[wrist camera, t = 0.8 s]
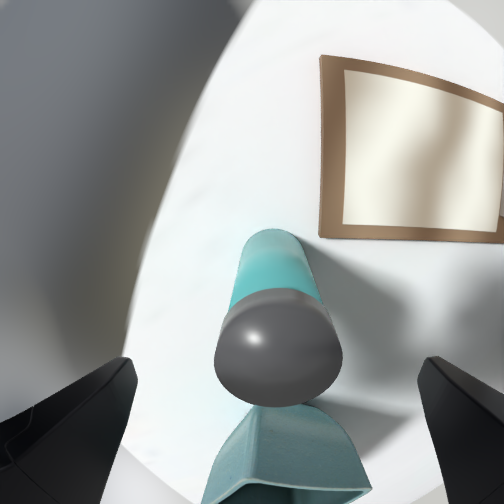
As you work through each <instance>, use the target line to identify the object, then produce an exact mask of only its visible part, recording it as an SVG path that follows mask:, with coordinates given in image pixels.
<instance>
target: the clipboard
mask: <svg viewBox="0 0 504 504" xmlns="http://www.w3.org/2000/svg"><path fill="white" fill-rule="evenodd" d="M319 61H320V85H321V184H320V210H319V230H318V235H319V237H320V238H360V239H400V240H433V241H461V242H486V243H504V104H503V103H501V102H499V101H497V100H495V99H492V98H490V97H488V96H485V95H483V94H481V93H478V92H476V91H473V90H471V89H468V88H466V87H463V86H460V85H457V84H454V83H452V82H449V81H446V80H443V79H440V78H436V77H433V76H430V75H426V74H423V73H419V72H415V71H412V70H408V69H404V68H400V67H395V66H391V65H386V64H381V63H376V62H371V61H365V60H359V59H352V58H345V57H338V56H329V55H321V56H320V58H319Z"/></svg>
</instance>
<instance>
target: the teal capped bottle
mask: <svg viewBox="0 0 504 504" xmlns="http://www.w3.org/2000/svg"><path fill="white" fill-rule="evenodd" d="M342 360H343V356H342V349H341V345H340V342H339V340H338V337H337V334H336V331H335V328H334V325H333V322H332V320H331V317H330V315H329V313H328V311H327V310H326V308H325V307H324V306H323V303H322V300H321V297H320V294H319V291H318V289H317V286H316V283H315V280H314V277H313V275H312V272H311V269H310V267H309V264H308V261H307V258H306V256H305V253H304V250H303V248H302V246H301V244H300V242H299V241H298V240H297V238H295V237H294V236H293V235H292V234H290V233H288V232H286V231H284V230H280V229H266V230H263V231H260V232H258V233H256V234H254V235H253V236H252V237H251V238H250V239H249V240H248V241H247V242H246V244H245V246H244V248H243V251H242V254H241V259H240V263H239V267H238V271H237V276H236V280H235V284H234V289H233V293H232V297H231V302H230V306H229V310H228V313H227V315H226V316H225V318H224V321H223V324H222V327H221V331H220V335H219V339H218V343H217V348H216V352H215V357H214V367H215V372H216V374H217V377H218V379H219V381H220V382H221V384H222V385H223V386H224V387H225V388H226V389H227V390H228V391H229V392H230V393H231V394H233V395H234V396H235V397H237V398H239V399H241V400H243V401H245V402H247V403H250V404H253V405H258V406H263V407H274V408H277V407H289V406H294V405H298V404H301V403H304V402H307V401H309V400H311V399H313V398H315V397H317V396H319V395H320V394H321V393H323V392H324V391H325V390H326V389H328V388H329V387H330V386H331V384H332V383H333V382H334V381H335V379H336V378H337V376H338V374H339V372H340V369H341V366H342Z"/></svg>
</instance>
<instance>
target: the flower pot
mask: <svg viewBox="0 0 504 504" xmlns="http://www.w3.org/2000/svg"><path fill="white" fill-rule="evenodd" d="M371 490H372V487H371V484H370V482H369V479H368V477H367V475H366V472H365V470H364V467H363V465H362V463H361V460H360V458H359V456H358V454H357V451H356V449H355V447H354V445H353V443H352V441H351V439H350V437H349V436H348V435H347V433H346V432H345V431H344V429H343V428H342V427H341V426H340V425H339V424H338V423H337V422H336V421H335V420H333V419H332V418H331V417H330V416H328V415H327V414H326V413H324V412H323V411H321V410H320V409H318V408H316V407H312V406H308V405H304V404H298V405H294V406H289V407H277V408H274V407H263V406H258V405H254V406H253V407H252V409H251V410H250V411H249V413H248V414H247V415H246V416H245V418H244V419H243V420H242V421H241V423H240V424H239V425H238V426H237V427H236V429H235V430H234V431H233V432H232V434H231V435H230V436H229V437H228V439H227V440H226V442H225V443H224V445H223V446H222V448H221V449H220V451H219V453H218V455H217V457H216V459H215V461H214V463H213V466H212V469H211V472H210V475H209V478H208V482H207V485H206V488H205V491H204V495H203V498H202V501H201V504H349V503H351V502H353V501H355V500H356V499H358V498H360V497H362V496H364V495H365V494H367V493H368V492H370V491H371Z"/></svg>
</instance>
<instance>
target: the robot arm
mask: <svg viewBox="0 0 504 504" xmlns="http://www.w3.org/2000/svg"><path fill="white" fill-rule="evenodd" d="M417 383H418V387H419V392H420V396H421V400H422V404H423V409H424V413H425V418H426V422H427V425H428V428H429V431H430V435H431V438H432V441H433V444H434V448H435V451H436V455H437V458H438V462H439V465H440V469H441V473H442V477H443V481H444V485H445V489H446V493H447V498H448V502H449V504H504V394H502V393H500V392H499V391H497V390H495V389H493V388H492V387H490V386H488V385H487V384H485V383H483V382H482V381H480V380H478V379H476V378H475V377H473V376H471V375H470V374H468V373H466V372H464V371H463V370H461V369H459V368H458V367H456V366H454V365H453V364H451V363H449V362H447V361H446V360H444V359H442V358H441V357H439V356H432V357H427V358H426V359H425V361H424V363H423V365H422V368H421V370H420V373H419V375H418V379H417ZM137 384H138V378H137V374H136V371H135V368H134V365H133V362H132V360H131V359H130V358H128V357H121V356H118V357H116V358H114V359H113V360H111V361H109V362H108V363H106V364H104V365H103V366H101V367H99V368H97V369H96V370H94V371H93V372H91V373H89V374H87V375H86V376H84V377H82V378H81V379H79V380H77V381H75V382H74V383H72V384H71V385H69V386H67V387H65V388H63V389H62V390H60V391H58V392H57V393H55V394H53V395H51V396H50V397H48V398H46V399H44V400H43V401H41V402H39V403H37V404H36V405H34V407H33V406H32V407H30V408H28V409H27V410H25V411H23V412H21V413H19V414H17V415H16V416H14V417H12V418H10V419H7V420H5V421H3V422H1V423H0V504H100V501H101V498H102V495H103V492H104V489H105V486H106V483H107V480H108V476H109V474H110V471H111V468H112V465H113V462H114V459H115V456H116V454H117V451H118V448H119V445H120V443H121V440H122V437H123V434H124V432H125V429H126V426H127V423H128V419H129V415H130V411H131V407H132V403H133V399H134V396H135V392H136V388H137Z"/></svg>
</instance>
